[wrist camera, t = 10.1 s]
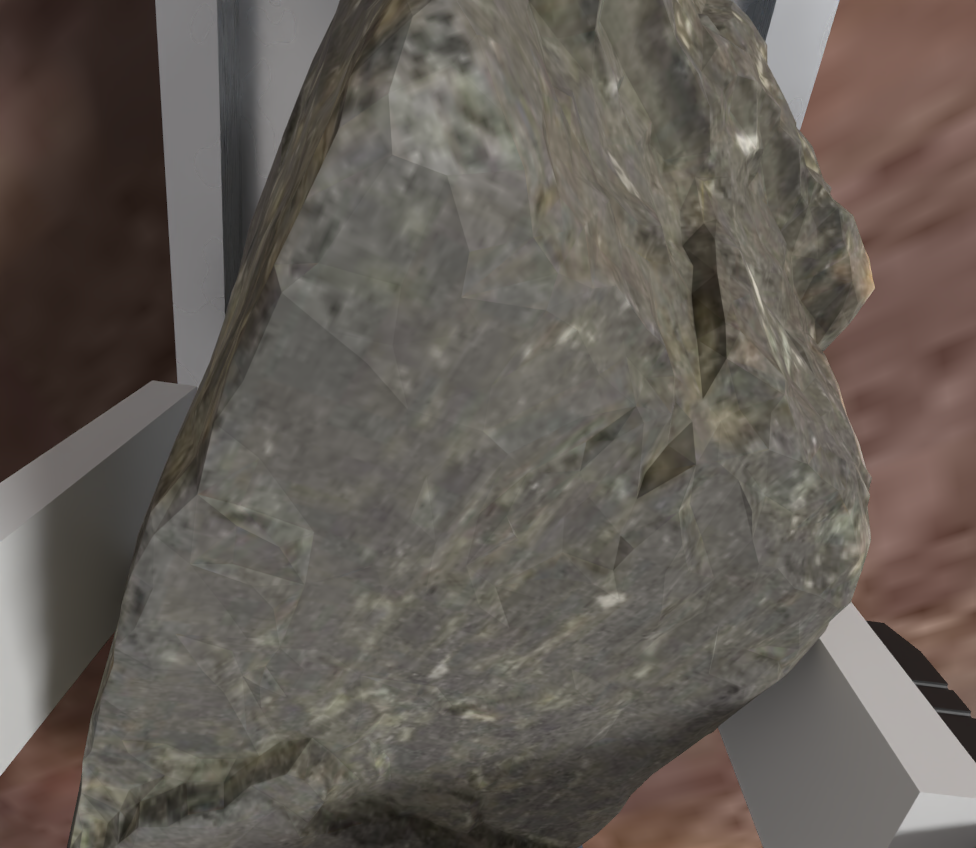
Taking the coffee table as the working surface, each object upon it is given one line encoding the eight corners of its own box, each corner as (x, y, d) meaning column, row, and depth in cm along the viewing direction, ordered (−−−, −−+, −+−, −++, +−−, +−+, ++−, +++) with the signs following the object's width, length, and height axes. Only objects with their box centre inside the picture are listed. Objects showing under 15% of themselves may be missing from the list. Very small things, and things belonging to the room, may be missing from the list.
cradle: (222, -162, 12) (-92, -510, 6) (793, -65, 13) (1104, -282, 6) (239, 655, 20) (117, 898, 14) (587, 695, 20) (629, 947, 14)
